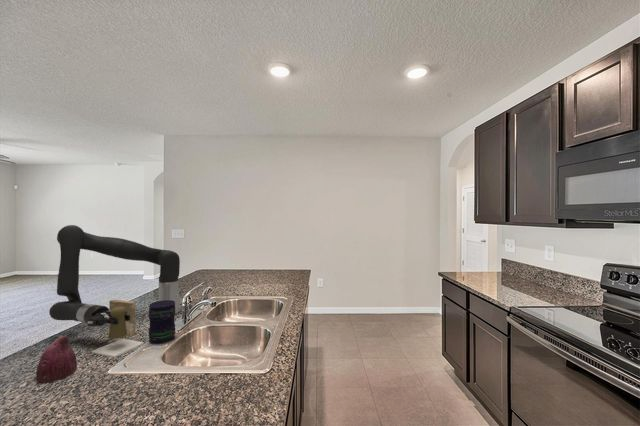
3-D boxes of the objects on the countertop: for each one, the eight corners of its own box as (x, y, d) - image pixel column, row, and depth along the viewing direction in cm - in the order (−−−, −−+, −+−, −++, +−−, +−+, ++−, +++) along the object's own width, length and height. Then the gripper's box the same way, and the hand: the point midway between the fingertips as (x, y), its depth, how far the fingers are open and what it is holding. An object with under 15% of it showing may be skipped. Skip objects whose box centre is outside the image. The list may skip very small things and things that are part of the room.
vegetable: (81, 378, 98) (95, 335, 99) (44, 391, 89) (60, 343, 90) (63, 365, 102) (76, 323, 103) (25, 376, 92) (41, 330, 93)
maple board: (115, 329, 133) (116, 298, 133) (137, 333, 128) (137, 301, 129) (106, 333, 129) (107, 301, 129) (128, 337, 125) (128, 304, 125)
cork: (130, 333, 117) (131, 305, 117) (118, 339, 111) (119, 310, 111) (116, 332, 117) (117, 304, 117) (104, 338, 111) (104, 309, 111)
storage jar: (143, 341, 120) (143, 304, 121) (165, 333, 129) (165, 299, 129) (158, 346, 116) (158, 308, 116) (180, 337, 125) (180, 302, 125)
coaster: (122, 340, 122) (122, 338, 122) (144, 344, 118) (144, 342, 118) (91, 352, 110) (91, 351, 110) (114, 357, 106) (114, 355, 106)
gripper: (73, 310, 112) (104, 315, 107) (110, 300, 126) (140, 305, 120) (73, 329, 112) (104, 336, 106) (110, 318, 126) (140, 323, 120)
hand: (123, 319), depth 113 cm, fingers closed on cork, 4 cm apart
